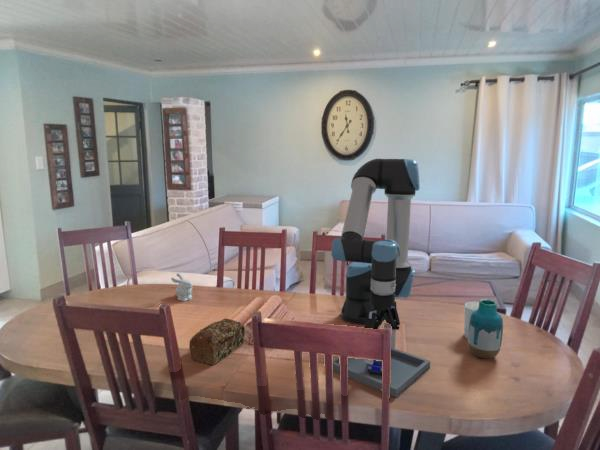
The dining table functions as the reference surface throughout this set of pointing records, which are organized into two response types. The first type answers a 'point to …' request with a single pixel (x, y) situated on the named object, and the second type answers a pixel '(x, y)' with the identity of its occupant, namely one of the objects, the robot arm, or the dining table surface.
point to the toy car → (375, 367)
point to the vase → (485, 330)
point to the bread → (216, 341)
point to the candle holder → (469, 315)
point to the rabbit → (183, 288)
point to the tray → (402, 371)
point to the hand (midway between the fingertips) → (380, 355)
